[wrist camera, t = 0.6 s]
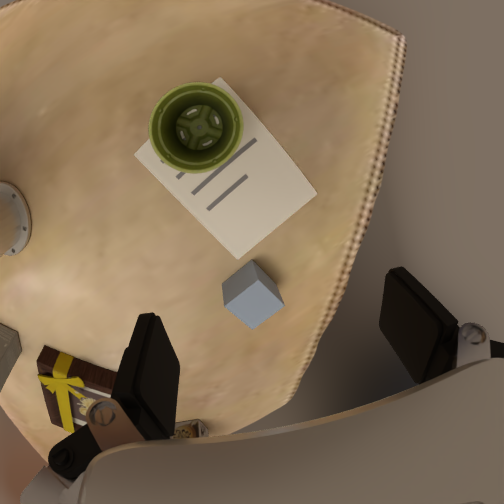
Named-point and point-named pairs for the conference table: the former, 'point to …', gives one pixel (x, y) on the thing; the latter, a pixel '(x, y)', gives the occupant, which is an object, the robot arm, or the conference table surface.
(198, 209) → the letter
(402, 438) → the robot arm
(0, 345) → the skincare box
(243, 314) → the cube
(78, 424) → the brown gift box
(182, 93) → the plant pot
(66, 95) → the conference table surface
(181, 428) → the coffee box
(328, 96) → the conference table surface
